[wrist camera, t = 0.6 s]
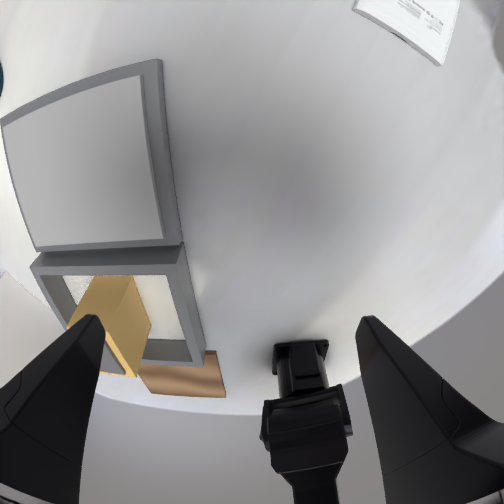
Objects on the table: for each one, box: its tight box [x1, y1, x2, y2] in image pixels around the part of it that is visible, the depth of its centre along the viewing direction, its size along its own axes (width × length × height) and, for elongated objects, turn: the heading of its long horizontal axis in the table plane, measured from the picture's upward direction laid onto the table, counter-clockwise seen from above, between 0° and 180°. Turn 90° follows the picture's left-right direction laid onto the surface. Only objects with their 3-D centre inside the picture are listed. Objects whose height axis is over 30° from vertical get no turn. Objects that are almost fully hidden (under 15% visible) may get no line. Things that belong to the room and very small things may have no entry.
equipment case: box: [0, 59, 206, 367], centre depth 21 cm, size 28×16×3 cm, turn 1°
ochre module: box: [67, 276, 151, 378], centre depth 23 cm, size 7×4×7 cm, turn 2°
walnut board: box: [138, 351, 226, 398], centre depth 33 cm, size 12×12×1 cm
